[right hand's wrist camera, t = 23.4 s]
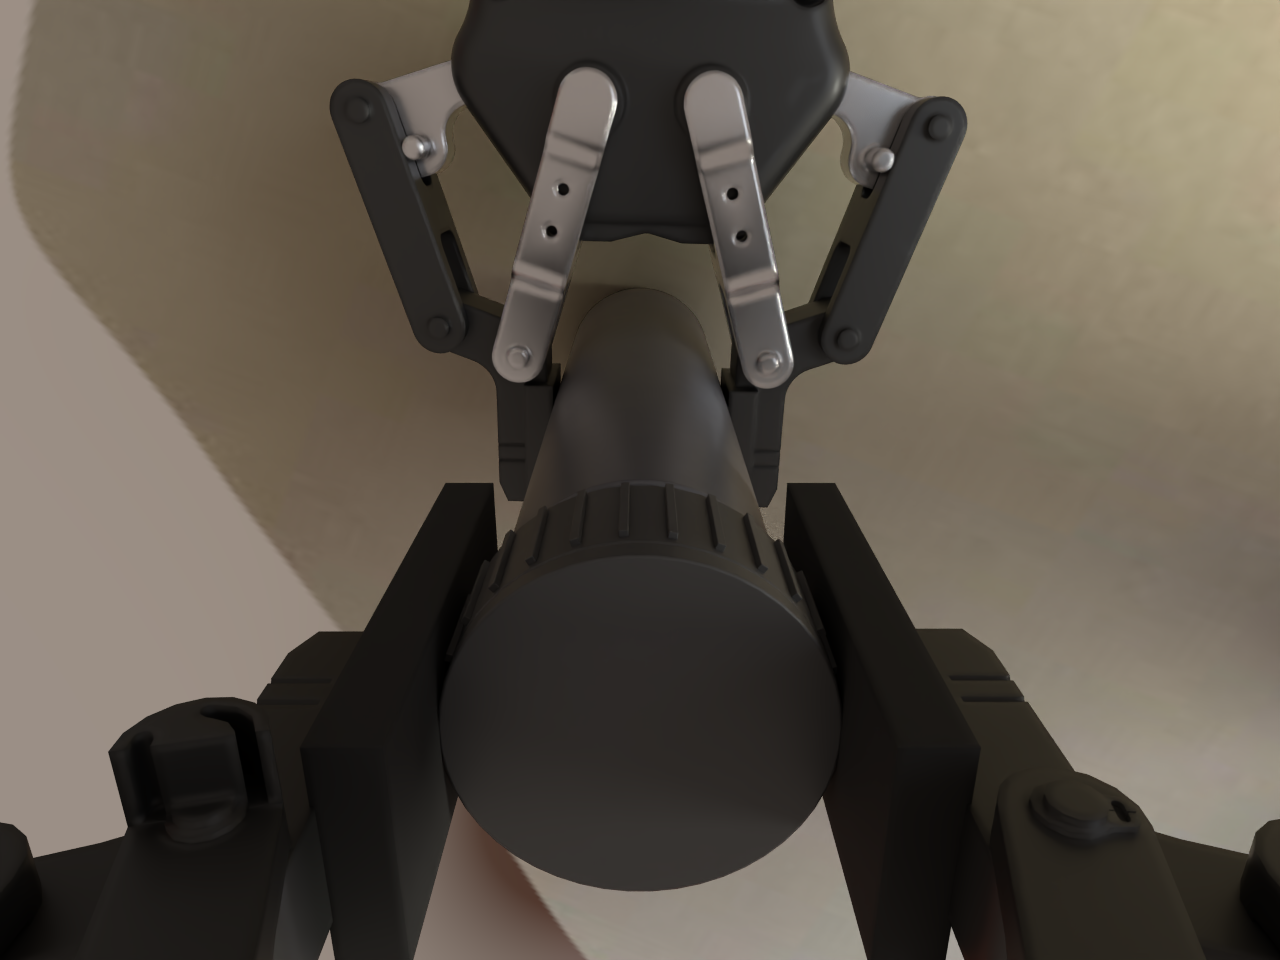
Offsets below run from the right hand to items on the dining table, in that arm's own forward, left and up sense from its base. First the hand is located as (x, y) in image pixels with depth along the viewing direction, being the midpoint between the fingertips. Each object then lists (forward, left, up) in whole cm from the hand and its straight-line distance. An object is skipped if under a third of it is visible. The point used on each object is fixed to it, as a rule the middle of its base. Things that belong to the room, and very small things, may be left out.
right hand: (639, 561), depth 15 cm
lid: (0, 0, +4) cm, 4 cm away
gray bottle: (0, 0, -14) cm, 14 cm away
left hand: (+1, +2, -8) cm, 9 cm away
